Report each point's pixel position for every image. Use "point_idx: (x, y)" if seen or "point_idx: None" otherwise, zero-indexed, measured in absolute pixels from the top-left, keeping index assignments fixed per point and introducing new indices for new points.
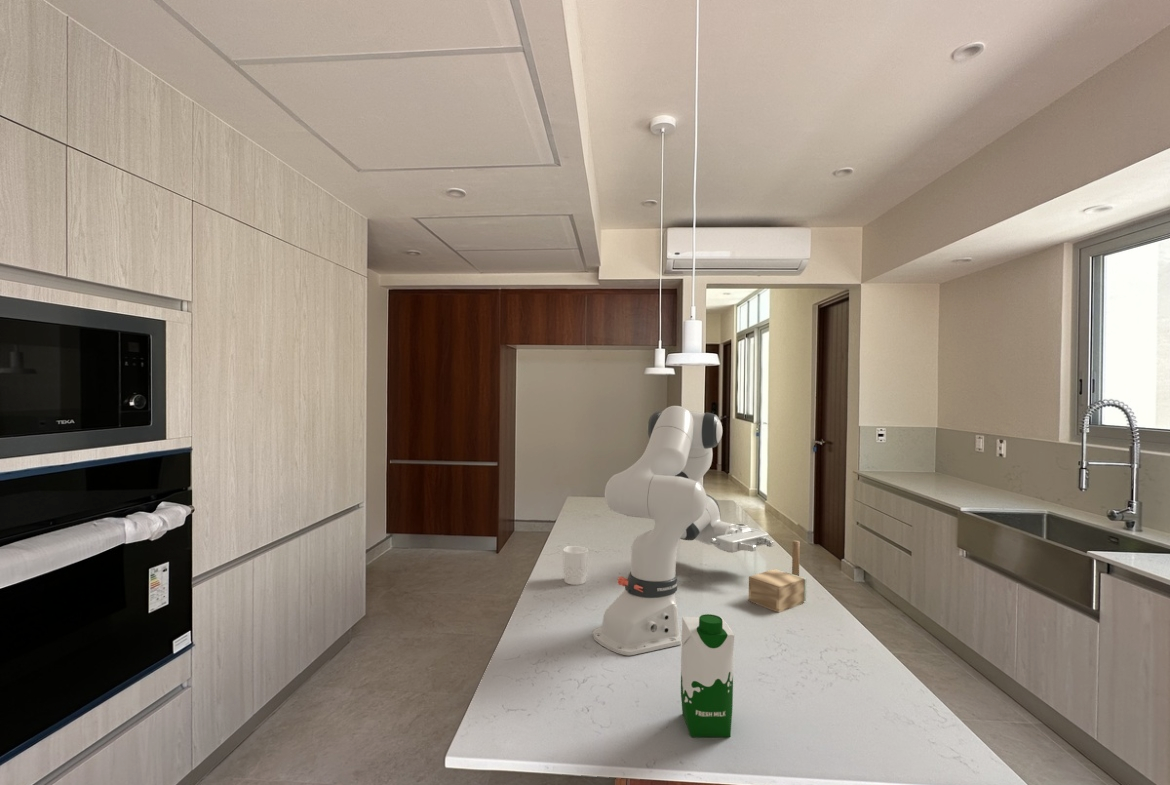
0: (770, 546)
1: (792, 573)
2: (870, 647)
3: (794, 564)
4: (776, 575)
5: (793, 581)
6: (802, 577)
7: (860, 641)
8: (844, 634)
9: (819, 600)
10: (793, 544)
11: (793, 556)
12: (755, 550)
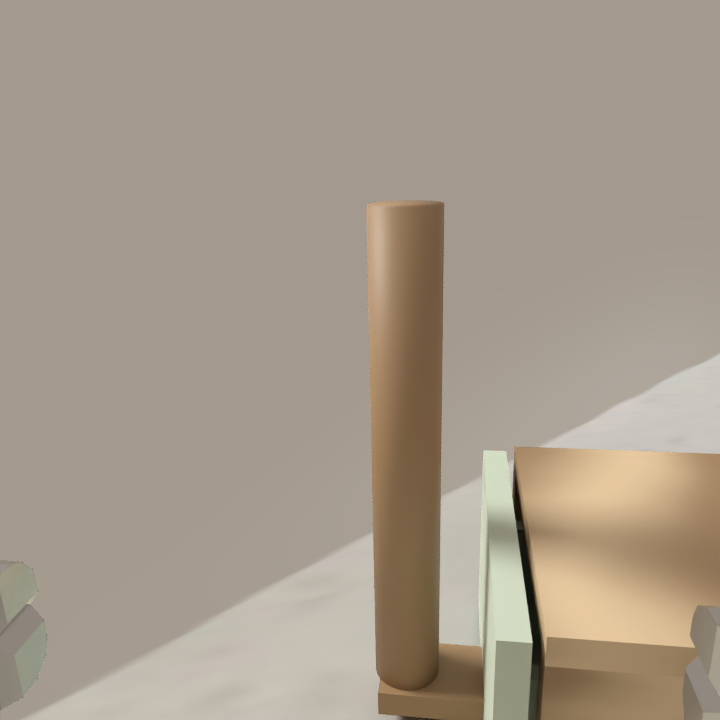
0: (32, 667)
1: (435, 538)
2: (659, 396)
3: (440, 439)
4: (701, 548)
5: (659, 455)
6: (487, 465)
7: (653, 411)
8: (662, 437)
9: (365, 580)
10: (443, 237)
11: (440, 368)
12: (684, 704)
